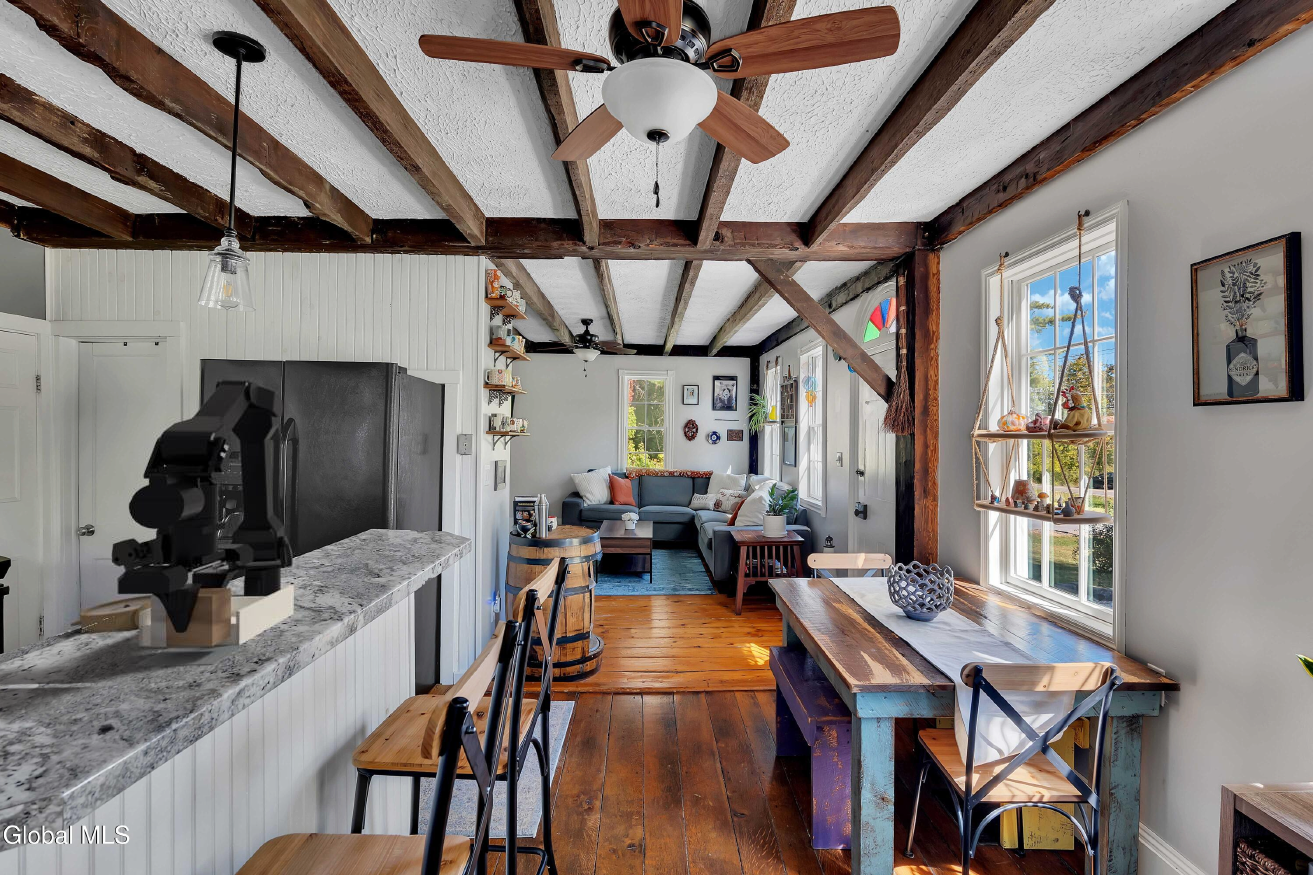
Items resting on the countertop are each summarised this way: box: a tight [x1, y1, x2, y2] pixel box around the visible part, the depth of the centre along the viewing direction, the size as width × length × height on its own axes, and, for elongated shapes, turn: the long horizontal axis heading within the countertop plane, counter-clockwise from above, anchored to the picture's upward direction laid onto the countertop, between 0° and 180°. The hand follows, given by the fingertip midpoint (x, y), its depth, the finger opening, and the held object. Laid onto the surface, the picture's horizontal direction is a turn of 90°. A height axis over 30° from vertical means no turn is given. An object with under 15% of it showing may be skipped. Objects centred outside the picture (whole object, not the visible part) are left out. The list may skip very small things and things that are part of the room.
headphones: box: [70, 594, 153, 634], centre depth 97 cm, size 11×5×15 cm
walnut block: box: [150, 587, 232, 648], centre depth 82 cm, size 4×8×7 cm, turn 95°
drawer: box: [138, 584, 295, 647], centre depth 94 cm, size 15×14×6 cm
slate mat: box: [133, 644, 245, 667], centre depth 82 cm, size 7×10×1 cm
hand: (192, 626), depth 82 cm, fingers closed on walnut block, 4 cm apart
